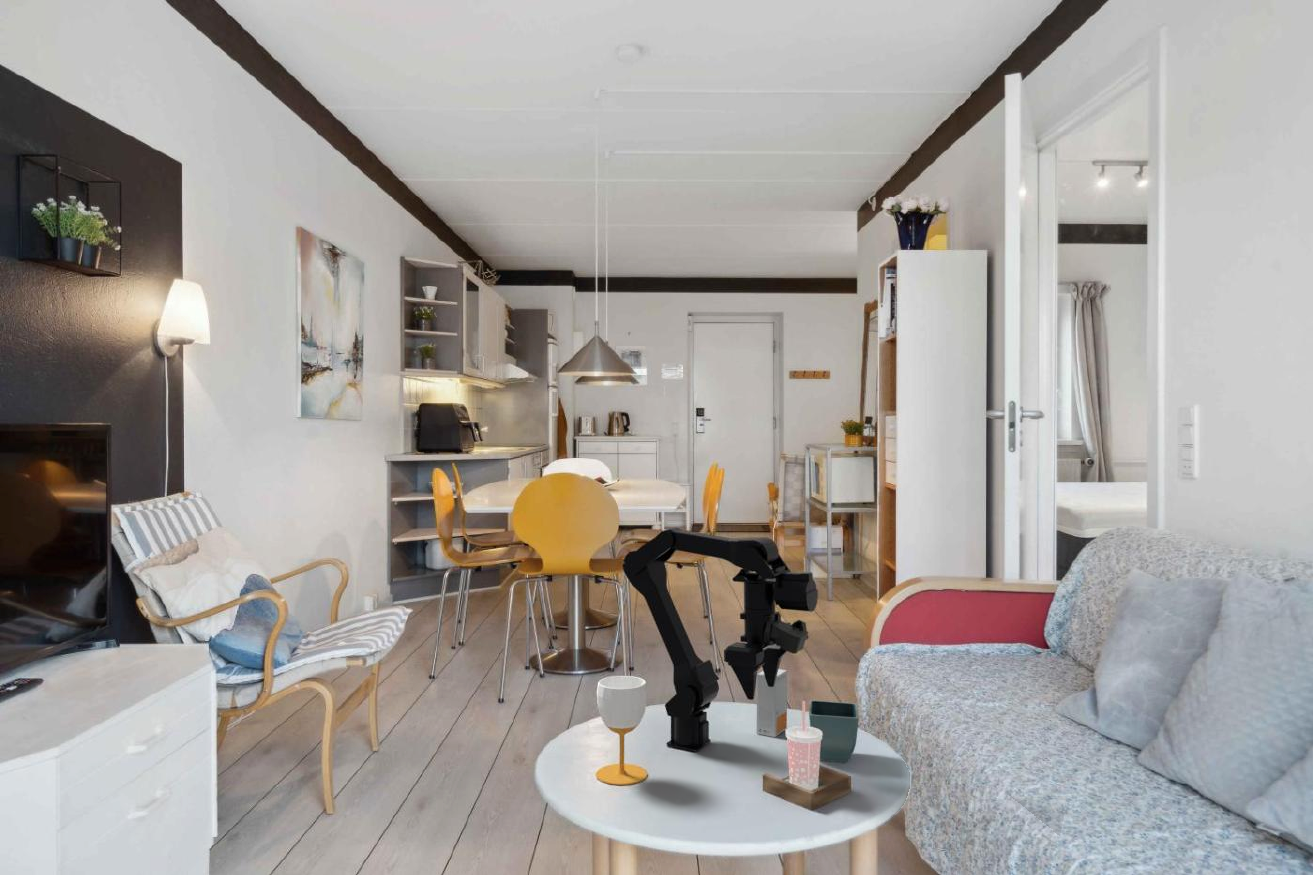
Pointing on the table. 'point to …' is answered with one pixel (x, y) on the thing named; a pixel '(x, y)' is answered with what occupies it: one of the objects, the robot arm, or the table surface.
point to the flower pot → (835, 728)
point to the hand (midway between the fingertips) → (761, 692)
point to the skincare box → (772, 705)
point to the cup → (622, 722)
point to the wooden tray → (827, 791)
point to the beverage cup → (804, 754)
